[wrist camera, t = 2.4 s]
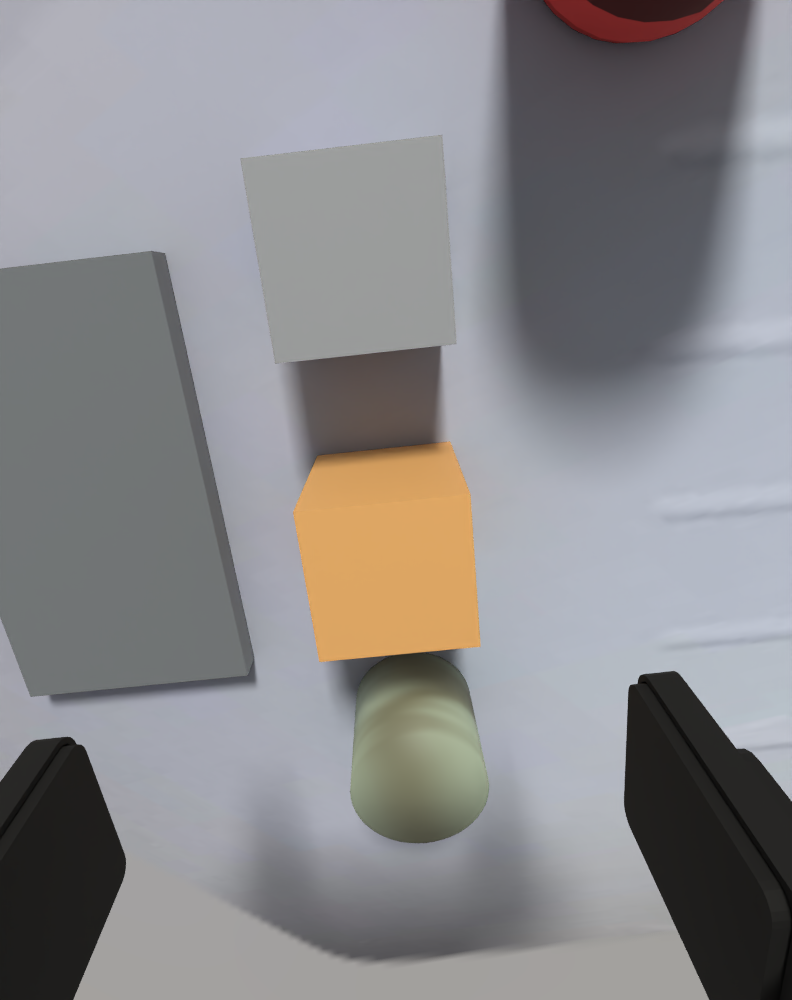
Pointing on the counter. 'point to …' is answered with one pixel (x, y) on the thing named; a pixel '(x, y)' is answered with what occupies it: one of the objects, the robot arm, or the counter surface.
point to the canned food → (630, 17)
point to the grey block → (353, 248)
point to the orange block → (388, 552)
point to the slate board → (108, 486)
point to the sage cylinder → (416, 750)
